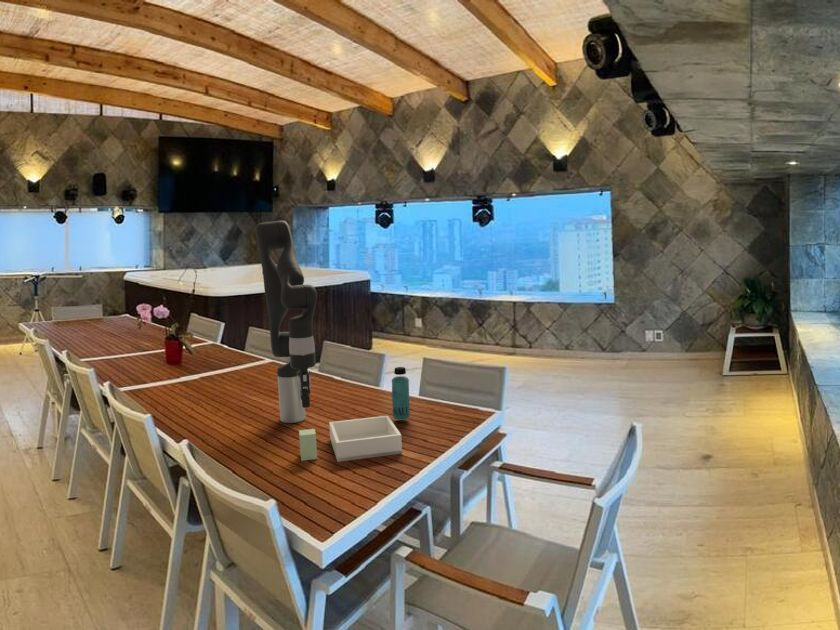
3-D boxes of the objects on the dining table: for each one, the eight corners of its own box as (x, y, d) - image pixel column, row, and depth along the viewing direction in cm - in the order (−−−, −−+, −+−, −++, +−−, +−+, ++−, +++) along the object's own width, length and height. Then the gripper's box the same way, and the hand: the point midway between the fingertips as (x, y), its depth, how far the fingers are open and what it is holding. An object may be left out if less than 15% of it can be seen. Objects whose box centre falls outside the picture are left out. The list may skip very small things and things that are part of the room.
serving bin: (330, 439, 189) (329, 422, 188) (388, 432, 194) (387, 415, 193) (337, 461, 170) (336, 442, 169) (402, 453, 175) (401, 434, 174)
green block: (300, 455, 176) (298, 430, 175) (315, 453, 177) (314, 428, 176) (301, 460, 171) (299, 435, 170) (317, 458, 173) (315, 433, 172)
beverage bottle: (402, 417, 210) (400, 364, 207) (414, 420, 205) (412, 367, 202) (388, 421, 205) (386, 367, 203) (401, 425, 201) (399, 370, 198)
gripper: (288, 347, 176) (291, 398, 178) (290, 356, 162) (293, 411, 164) (313, 346, 178) (315, 396, 180) (316, 354, 164) (319, 408, 166)
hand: (305, 403), depth 172 cm, fingers open, 8 cm apart
